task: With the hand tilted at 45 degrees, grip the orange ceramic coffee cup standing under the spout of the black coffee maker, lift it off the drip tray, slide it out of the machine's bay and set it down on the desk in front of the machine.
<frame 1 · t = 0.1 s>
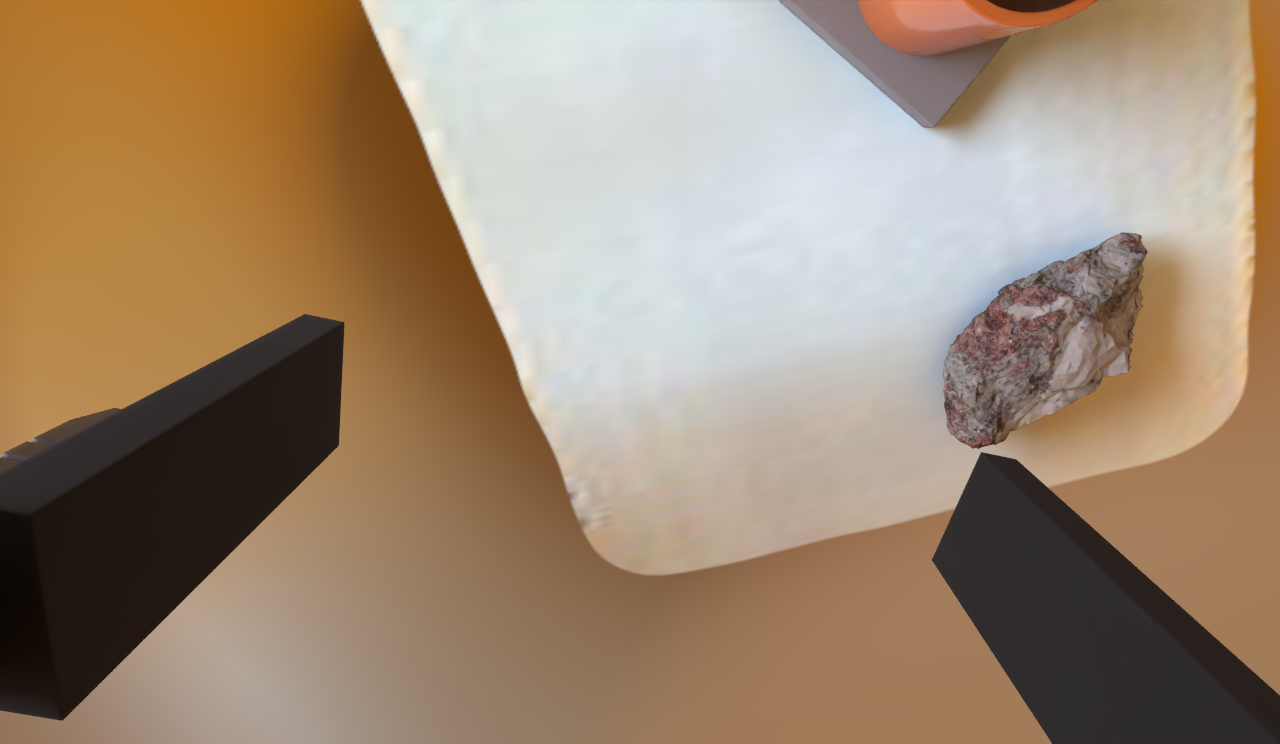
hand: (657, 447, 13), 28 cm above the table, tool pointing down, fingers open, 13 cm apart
mineral rock: (1021, 329, 41), on the table
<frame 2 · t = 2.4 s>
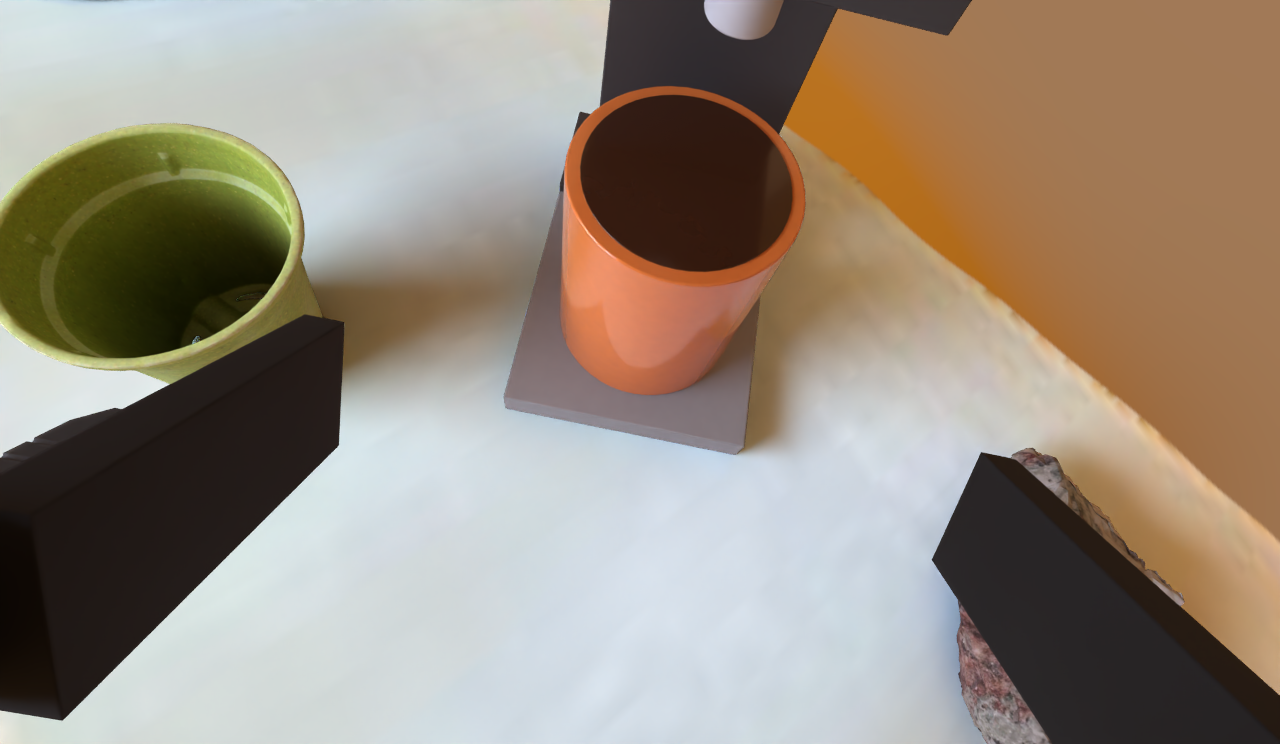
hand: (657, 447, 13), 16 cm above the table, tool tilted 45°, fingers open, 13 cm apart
plant pot: (260, 345, 29), on the table
coffee maker: (641, 329, 32), on the table
cup: (645, 315, 30), point 1 cm above the table, touching coffee maker
mineral rock: (1018, 621, 29), on the table
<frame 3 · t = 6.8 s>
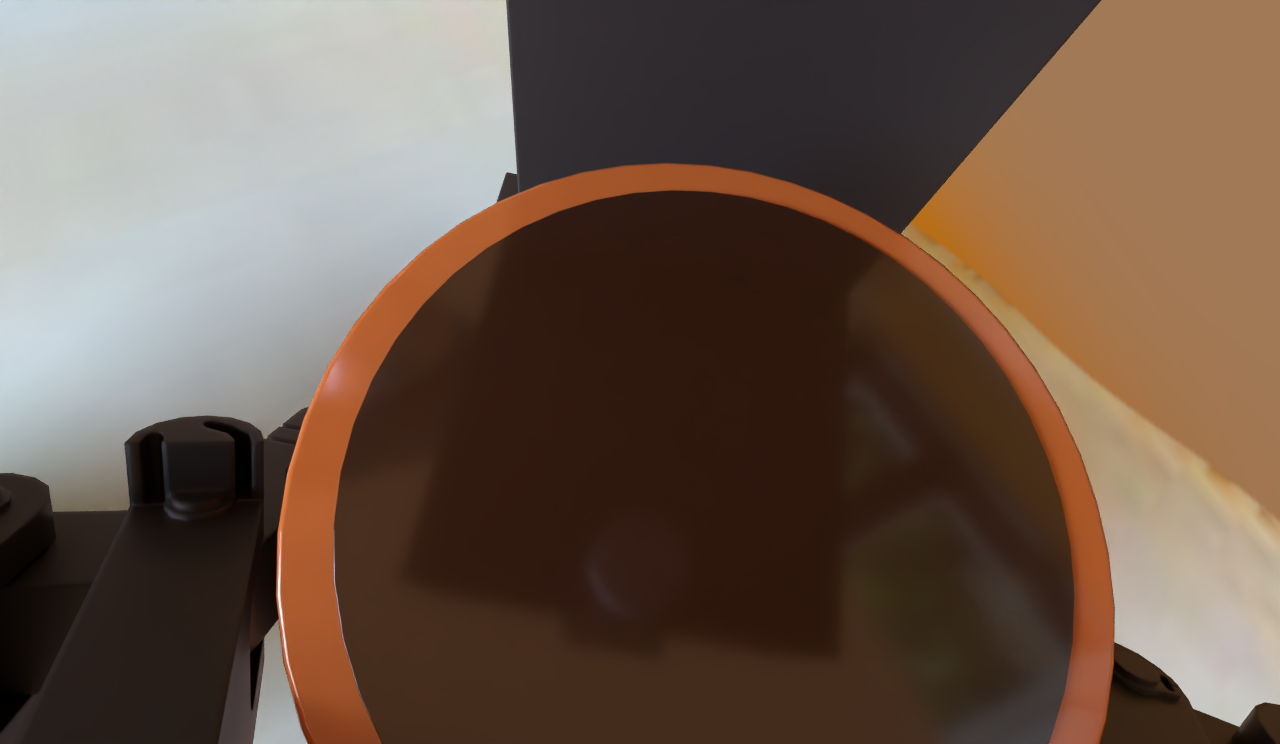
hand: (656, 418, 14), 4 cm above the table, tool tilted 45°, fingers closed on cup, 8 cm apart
coffee maker: (613, 586, 17), on the table
cup: (619, 581, 15), point 2 cm above the table, touching coffee maker, gripper
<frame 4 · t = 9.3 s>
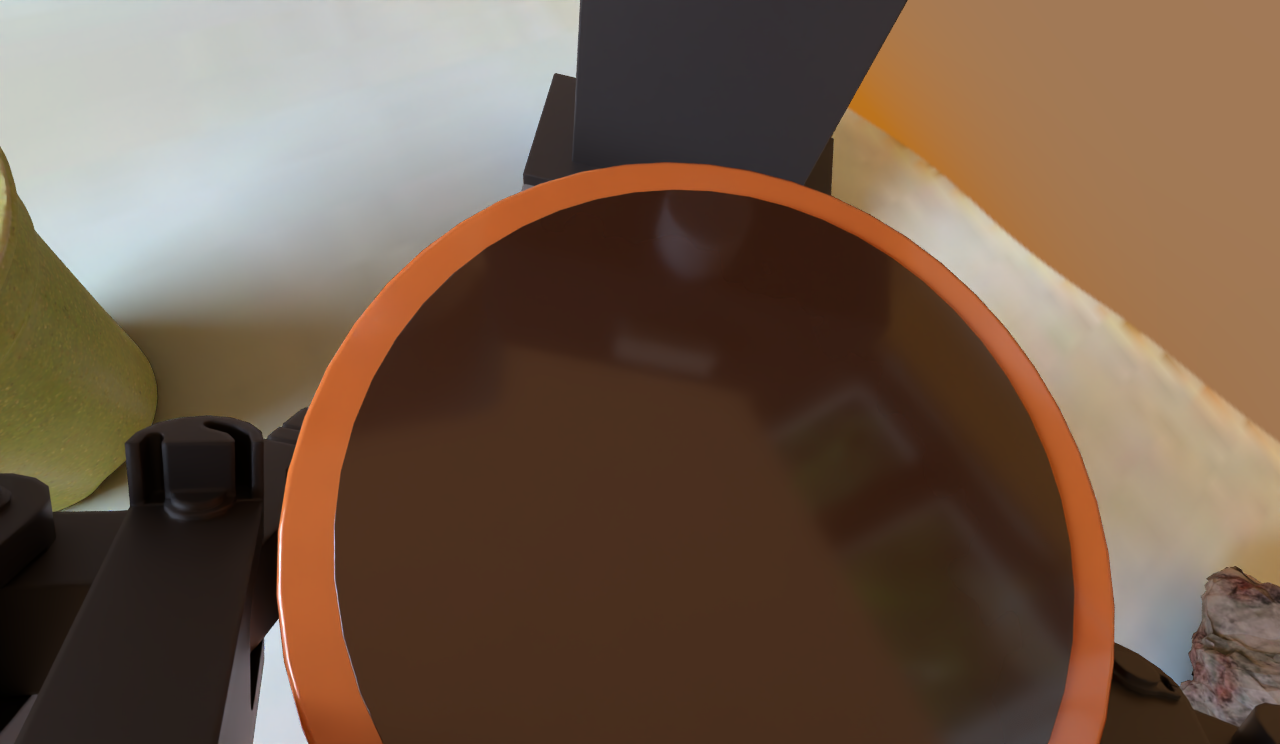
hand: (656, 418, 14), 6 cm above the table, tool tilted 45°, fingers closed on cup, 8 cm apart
plant pot: (51, 419, 19), on the table
coffee maker: (642, 385, 21), on the table
cup: (619, 581, 15), point 4 cm above the table, touching gripper
when the fingers open (3 cm above the table, at t = 12.0 s): cup stays where it is, on the table.
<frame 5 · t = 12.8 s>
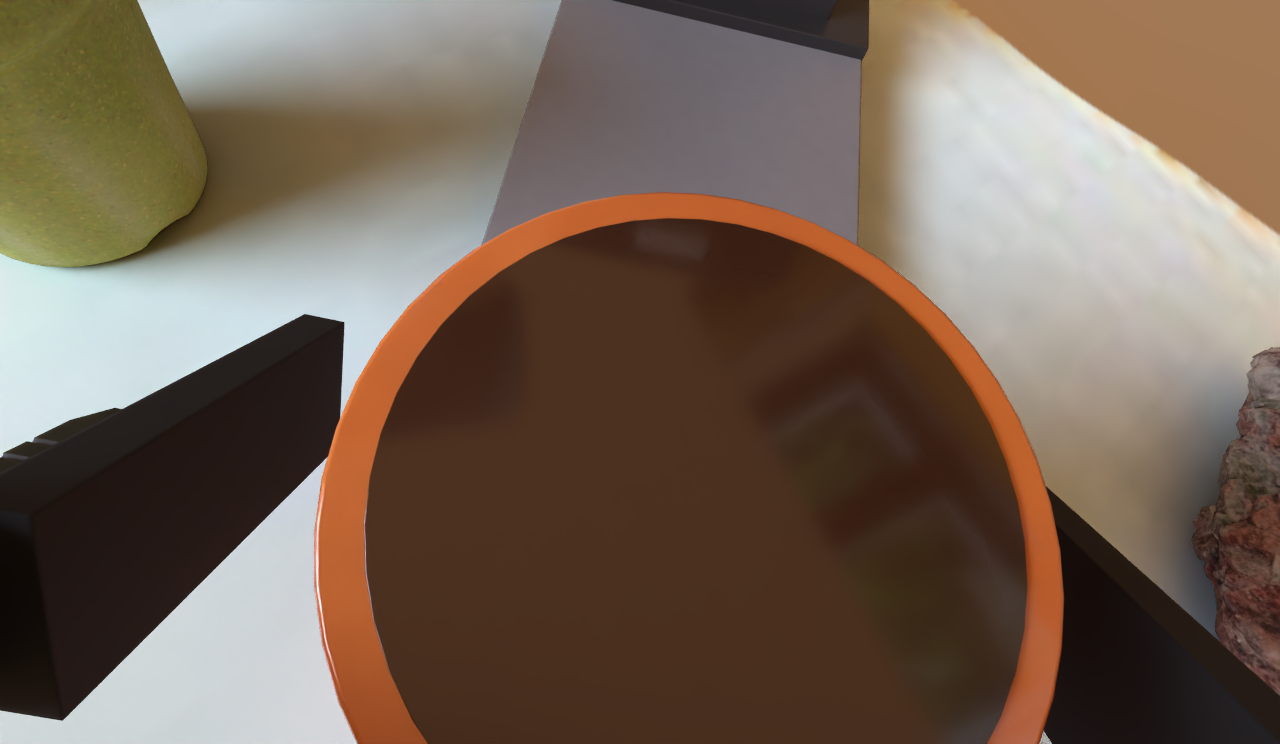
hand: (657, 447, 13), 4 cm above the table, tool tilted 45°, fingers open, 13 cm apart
plant pot: (103, 186, 19), on the table
coffee maker: (685, 182, 21), on the table
cup: (618, 579, 16), on the table
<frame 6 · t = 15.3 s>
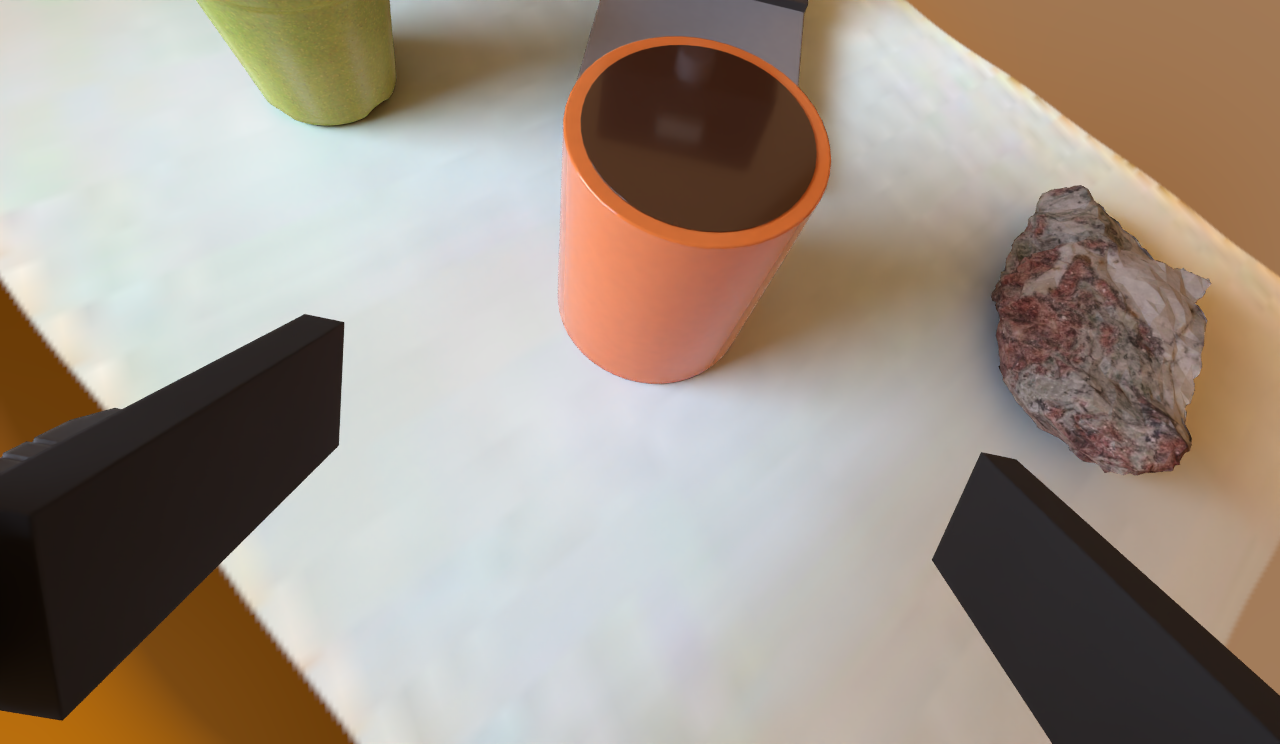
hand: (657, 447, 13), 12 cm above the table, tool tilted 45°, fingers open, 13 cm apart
plant pot: (333, 83, 31), on the table
coffee maker: (688, 89, 33), on the table
cup: (650, 298, 28), on the table
mineral rock: (1051, 338, 30), on the table
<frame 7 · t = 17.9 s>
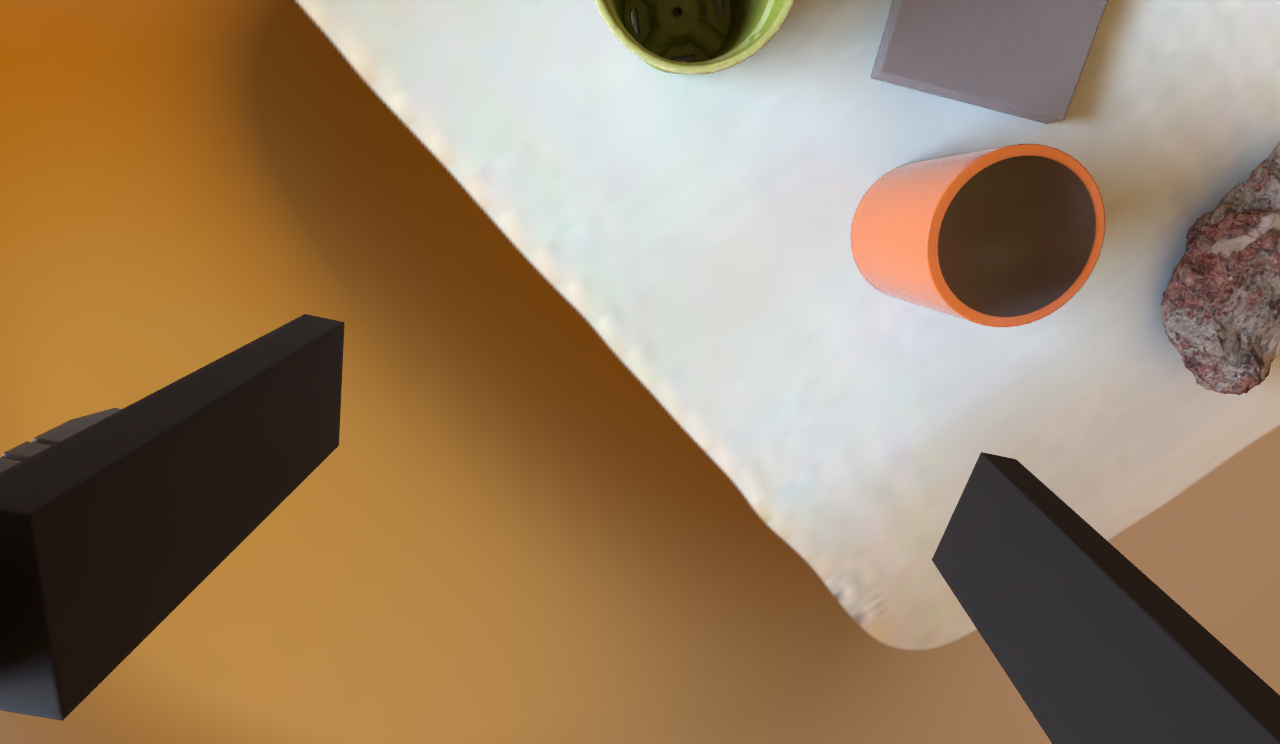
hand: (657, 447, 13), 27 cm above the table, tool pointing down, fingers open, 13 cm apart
plant pot: (678, 15, 35), on the table
cup: (917, 232, 38), on the table
mineral rock: (1221, 261, 39), on the table
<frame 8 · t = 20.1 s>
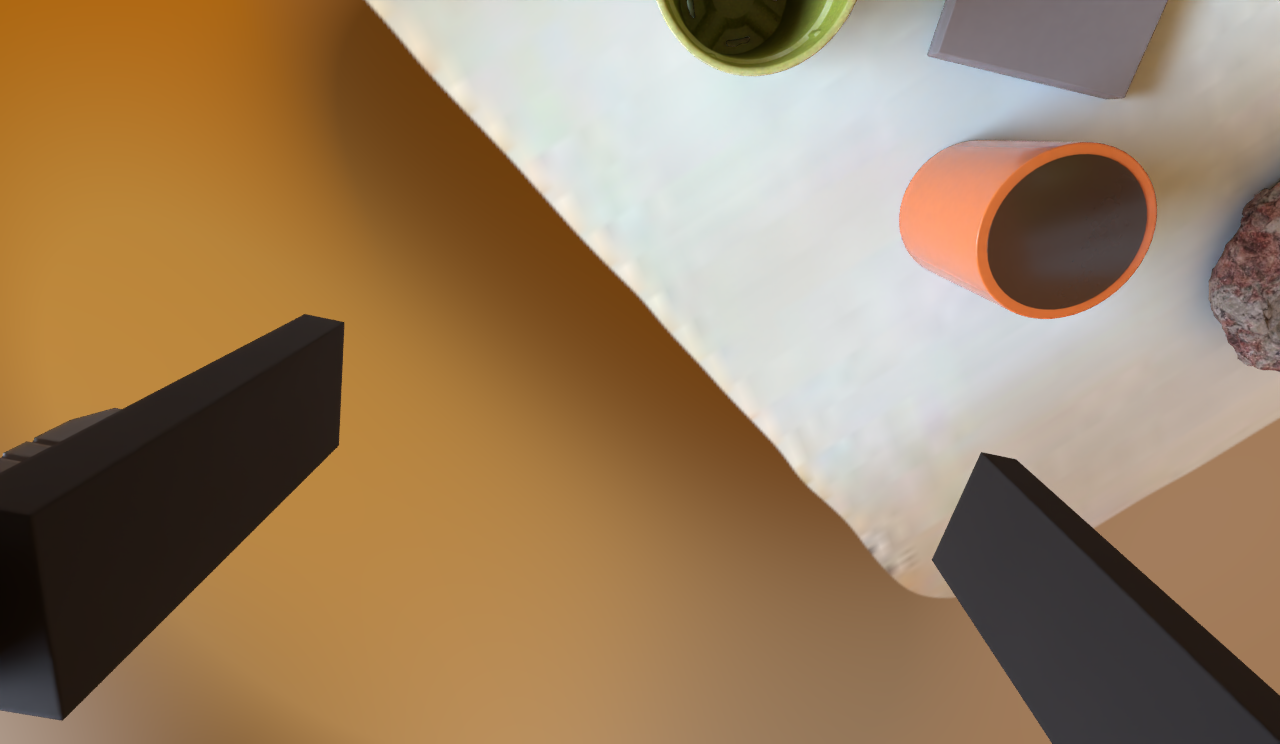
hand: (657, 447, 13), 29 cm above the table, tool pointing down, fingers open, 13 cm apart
cup: (966, 210, 39), on the table
mineral rock: (1276, 235, 39), on the table
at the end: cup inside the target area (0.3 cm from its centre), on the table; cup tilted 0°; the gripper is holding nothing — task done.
